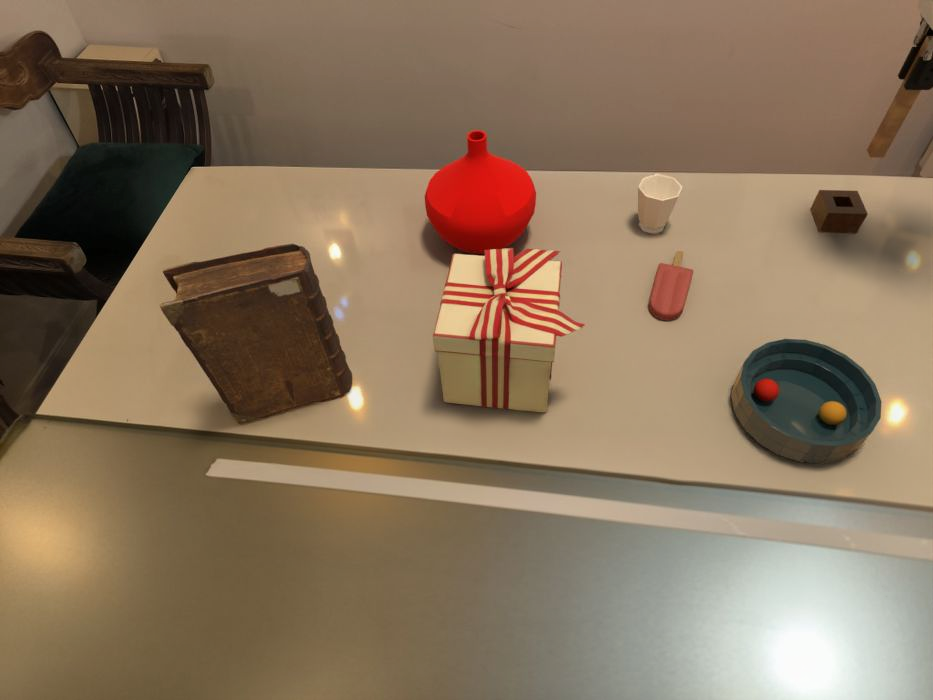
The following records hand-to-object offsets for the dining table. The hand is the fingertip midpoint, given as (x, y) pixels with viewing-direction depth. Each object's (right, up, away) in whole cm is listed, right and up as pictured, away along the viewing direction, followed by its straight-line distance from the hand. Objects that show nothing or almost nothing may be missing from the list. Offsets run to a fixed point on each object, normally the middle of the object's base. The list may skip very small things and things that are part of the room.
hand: (914, 82), depth 78 cm
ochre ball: (-11, -43, -1) cm, 44 cm away
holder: (+4, -13, +24) cm, 28 cm away
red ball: (-18, -40, +2) cm, 44 cm away
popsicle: (-25, -25, +17) cm, 39 cm away
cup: (-26, -12, +27) cm, 39 cm away
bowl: (-14, -42, +2) cm, 45 cm away
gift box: (-51, -37, +10) cm, 64 cm away
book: (-82, -41, +9) cm, 92 cm away
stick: (+1, -7, +8) cm, 11 cm away
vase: (-55, -14, +28) cm, 63 cm away
